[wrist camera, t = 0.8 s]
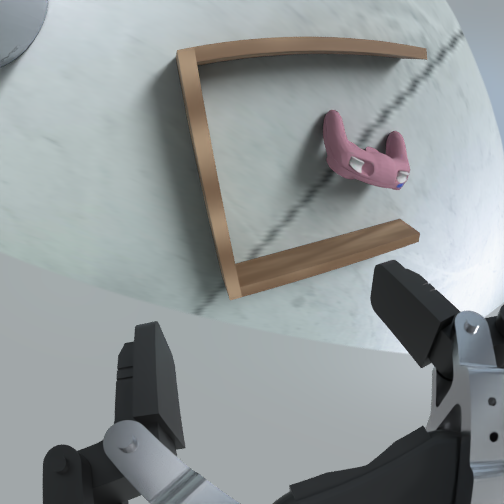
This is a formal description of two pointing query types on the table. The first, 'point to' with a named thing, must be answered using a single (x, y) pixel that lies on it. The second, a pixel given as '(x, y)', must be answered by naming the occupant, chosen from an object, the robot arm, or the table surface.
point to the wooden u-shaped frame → (234, 275)
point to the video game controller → (365, 156)
